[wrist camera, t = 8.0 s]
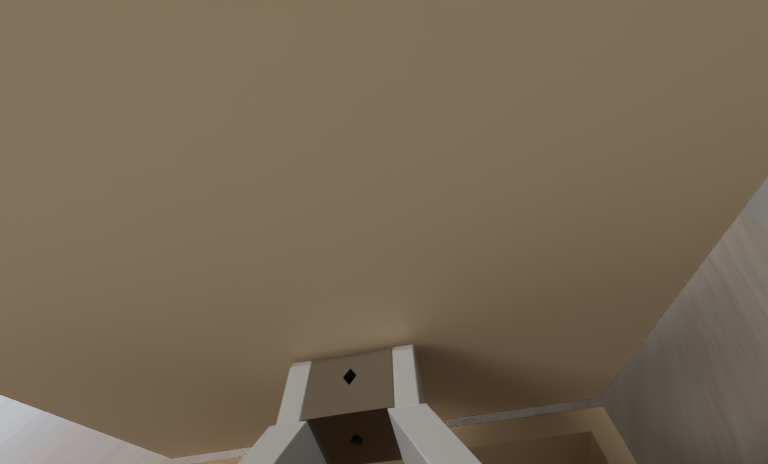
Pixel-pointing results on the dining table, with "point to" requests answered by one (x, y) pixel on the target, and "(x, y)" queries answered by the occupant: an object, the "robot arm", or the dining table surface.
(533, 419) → the carton
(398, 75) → the lid
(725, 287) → the dining table surface
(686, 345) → the dining table surface
